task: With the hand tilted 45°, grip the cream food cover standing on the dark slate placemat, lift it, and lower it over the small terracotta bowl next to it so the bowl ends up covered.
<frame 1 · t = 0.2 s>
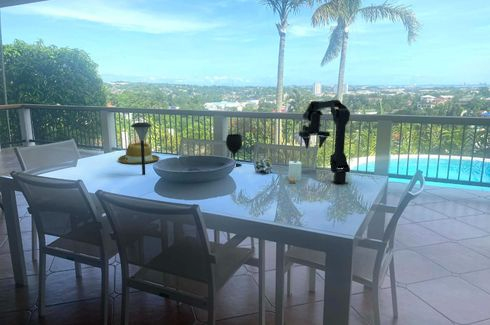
hand: (313, 148, 222), 15 cm above the table, tool pointing down, fingers open, 9 cm apart
wine glass: (234, 165, 241), on the table
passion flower: (263, 173, 222), on the table
fedora: (139, 161, 253), on the table
bowl: (292, 183, 197), resting on placemat
solar garden light: (143, 175, 214), on the table
placemat: (293, 181, 202), on the table
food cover: (294, 179, 206), resting on placemat
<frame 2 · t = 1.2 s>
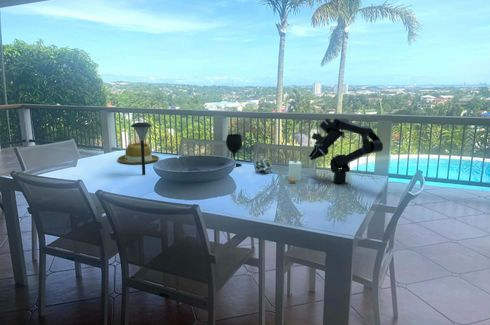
hand: (310, 158, 203), 12 cm above the table, tool tilted 45°, fingers open, 9 cm apart
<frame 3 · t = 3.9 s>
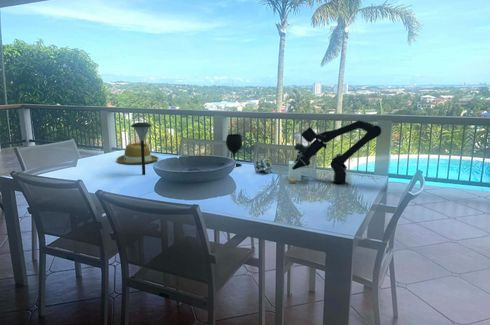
hand: (292, 167, 204), 7 cm above the table, tool tilted 45°, fingers closed on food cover, 7 cm apart
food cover: (294, 179, 206), resting on placemat, touching gripper
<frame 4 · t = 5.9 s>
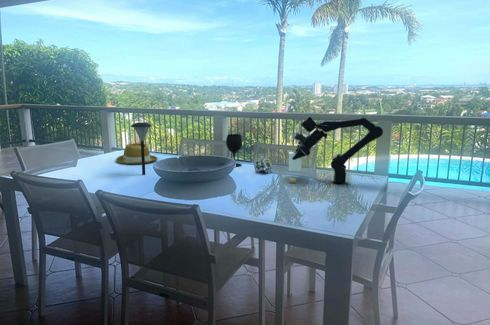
hand: (292, 158, 202), 12 cm above the table, tool tilted 45°, fingers closed on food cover, 7 cm apart
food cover: (294, 169, 204), point 6 cm above the table, touching gripper
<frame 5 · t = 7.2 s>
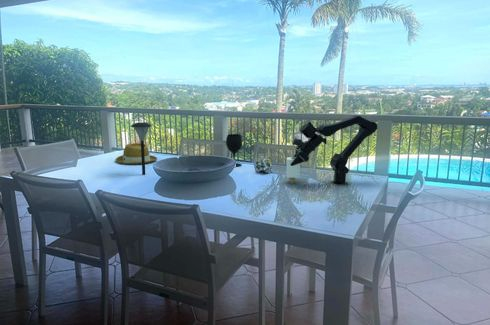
hand: (290, 164, 195), 11 cm above the table, tool tilted 45°, fingers closed on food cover, 7 cm apart
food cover: (292, 176, 197), point 4 cm above the table, touching gripper
when the fingers open (8 cm above the table, at t = 8.2 s): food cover drops 1 cm, resting on placemat.
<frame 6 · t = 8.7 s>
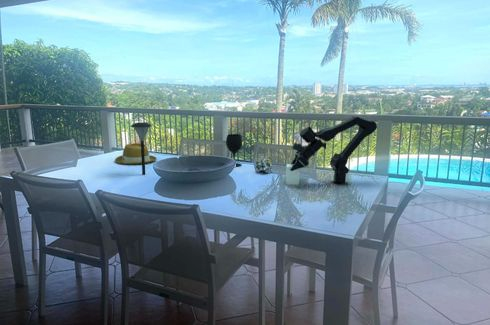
hand: (290, 168, 196), 8 cm above the table, tool tilted 45°, fingers open, 9 cm apart
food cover: (292, 183, 198), resting on placemat
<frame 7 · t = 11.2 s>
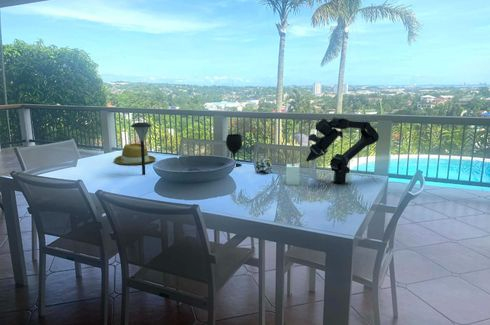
hand: (308, 160, 197), 12 cm above the table, tool tilted 40°, fingers open, 9 cm apart
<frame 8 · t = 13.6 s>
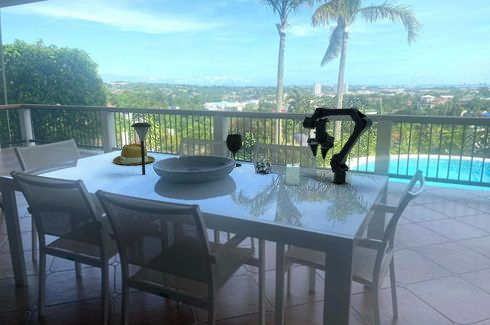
hand: (319, 157, 206), 12 cm above the table, tool pointing down, fingers open, 9 cm apart
at the end: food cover 0.0 cm from the bowl (horizontally); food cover resting on placemat; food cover tilted 0° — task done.
